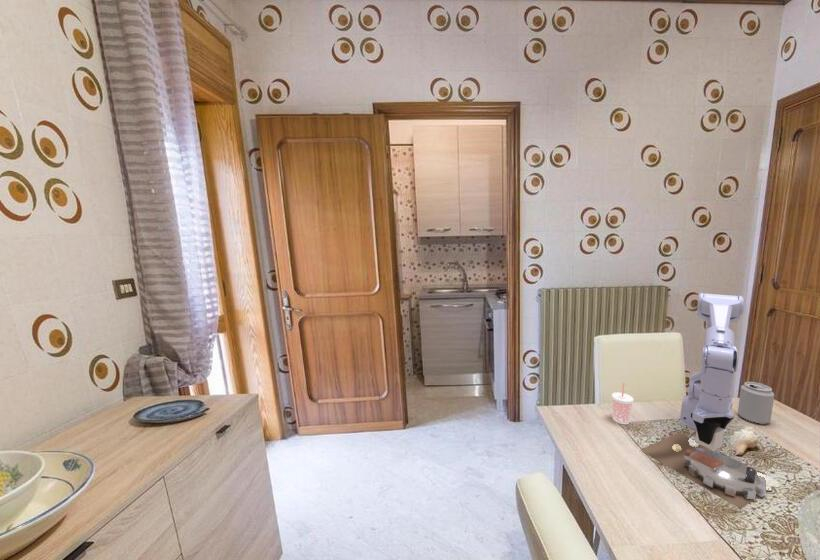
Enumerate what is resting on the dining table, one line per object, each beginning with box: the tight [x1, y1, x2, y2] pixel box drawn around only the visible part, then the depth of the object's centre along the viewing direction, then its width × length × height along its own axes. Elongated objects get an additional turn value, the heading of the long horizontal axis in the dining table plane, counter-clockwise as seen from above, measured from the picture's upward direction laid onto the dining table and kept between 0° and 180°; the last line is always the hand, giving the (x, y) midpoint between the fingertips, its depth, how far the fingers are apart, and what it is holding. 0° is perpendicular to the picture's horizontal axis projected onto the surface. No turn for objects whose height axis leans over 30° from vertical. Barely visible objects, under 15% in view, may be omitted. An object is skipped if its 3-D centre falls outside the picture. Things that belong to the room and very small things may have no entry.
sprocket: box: [683, 448, 767, 500], centre depth 82 cm, size 15×15×5 cm
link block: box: [694, 427, 725, 451], centre depth 84 cm, size 4×4×5 cm
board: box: [640, 432, 768, 510], centre depth 87 cm, size 22×19×1 cm
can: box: [737, 381, 775, 425], centre depth 106 cm, size 8×8×12 cm
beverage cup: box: [611, 382, 634, 425], centre depth 107 cm, size 6×6×14 cm
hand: (709, 439), depth 84 cm, fingers closed on link block, 4 cm apart
